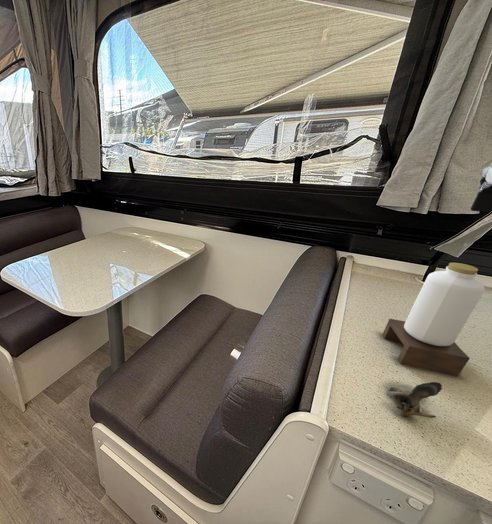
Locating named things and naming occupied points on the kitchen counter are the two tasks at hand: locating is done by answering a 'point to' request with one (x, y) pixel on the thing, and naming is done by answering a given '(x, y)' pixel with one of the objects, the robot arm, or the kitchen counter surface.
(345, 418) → the kitchen counter surface
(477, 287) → the potion bottle
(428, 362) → the shelf
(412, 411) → the eagle figurine
